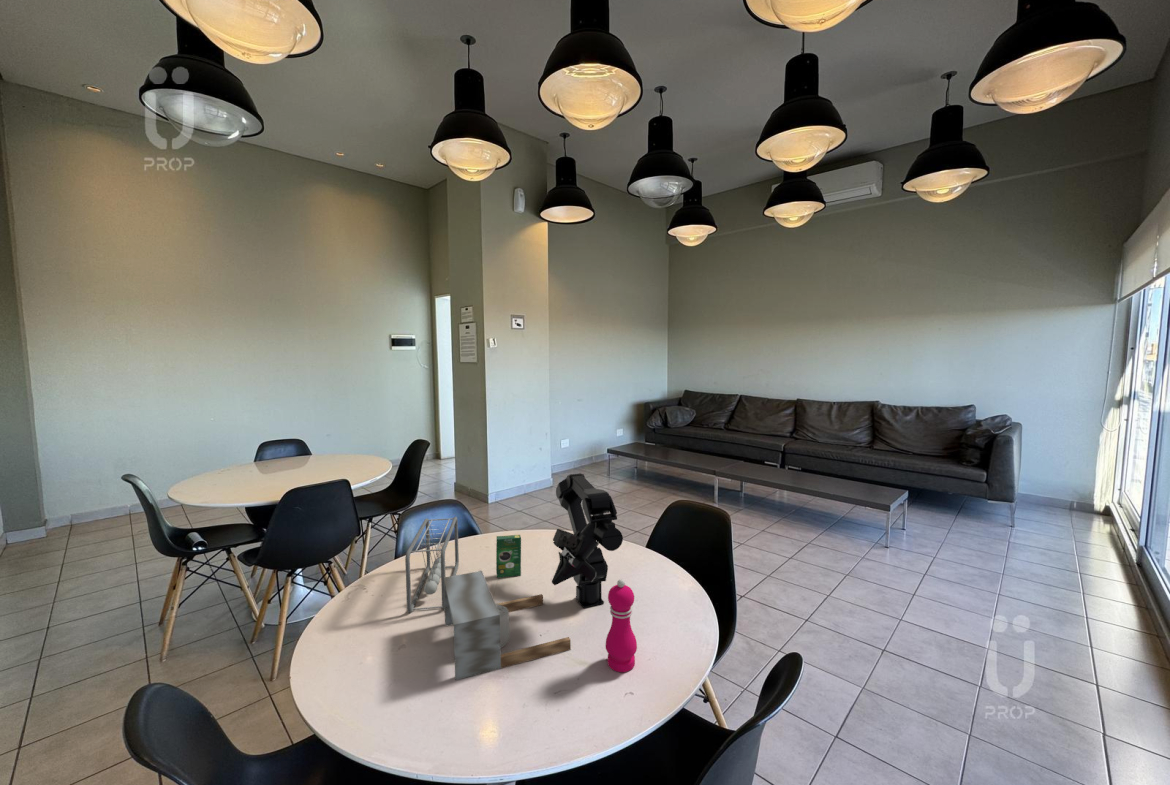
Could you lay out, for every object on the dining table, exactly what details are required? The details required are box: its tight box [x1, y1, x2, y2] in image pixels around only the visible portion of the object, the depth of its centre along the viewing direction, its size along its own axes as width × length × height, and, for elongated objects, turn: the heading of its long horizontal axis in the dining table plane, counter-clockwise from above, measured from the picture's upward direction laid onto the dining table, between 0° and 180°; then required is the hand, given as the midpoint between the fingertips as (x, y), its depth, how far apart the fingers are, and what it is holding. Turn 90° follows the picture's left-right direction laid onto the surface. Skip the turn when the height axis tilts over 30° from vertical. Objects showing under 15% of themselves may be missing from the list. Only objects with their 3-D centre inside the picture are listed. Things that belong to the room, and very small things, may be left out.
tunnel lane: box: [444, 570, 572, 681], centre depth 116 cm, size 27×23×13 cm
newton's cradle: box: [404, 516, 460, 614], centre depth 140 cm, size 30×10×18 cm, turn 9°
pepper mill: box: [605, 578, 638, 673], centre depth 105 cm, size 7×7×20 cm
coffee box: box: [495, 534, 522, 579], centre depth 148 cm, size 8×3×13 cm, turn 103°
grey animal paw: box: [495, 603, 510, 649], centre depth 114 cm, size 10×13×9 cm
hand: (553, 583), depth 120 cm, fingers closed
